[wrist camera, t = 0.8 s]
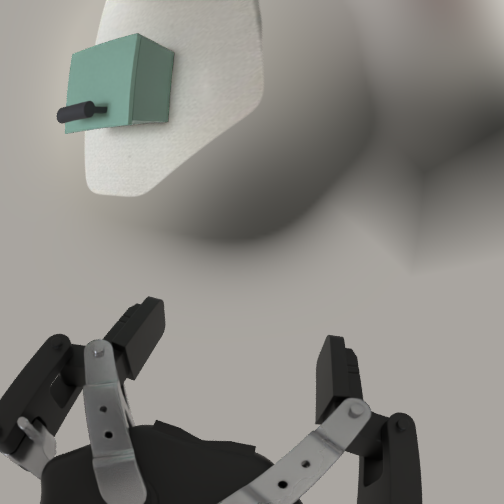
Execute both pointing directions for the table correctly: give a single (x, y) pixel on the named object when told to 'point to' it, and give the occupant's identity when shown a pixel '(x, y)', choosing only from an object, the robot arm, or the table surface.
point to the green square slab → (101, 86)
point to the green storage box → (152, 83)
